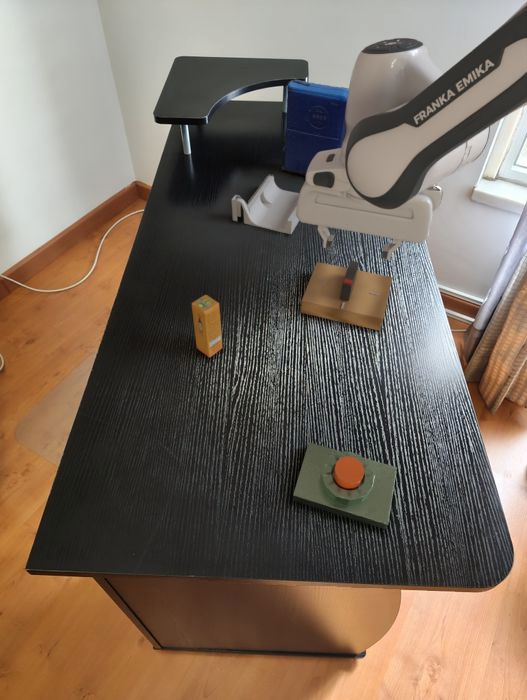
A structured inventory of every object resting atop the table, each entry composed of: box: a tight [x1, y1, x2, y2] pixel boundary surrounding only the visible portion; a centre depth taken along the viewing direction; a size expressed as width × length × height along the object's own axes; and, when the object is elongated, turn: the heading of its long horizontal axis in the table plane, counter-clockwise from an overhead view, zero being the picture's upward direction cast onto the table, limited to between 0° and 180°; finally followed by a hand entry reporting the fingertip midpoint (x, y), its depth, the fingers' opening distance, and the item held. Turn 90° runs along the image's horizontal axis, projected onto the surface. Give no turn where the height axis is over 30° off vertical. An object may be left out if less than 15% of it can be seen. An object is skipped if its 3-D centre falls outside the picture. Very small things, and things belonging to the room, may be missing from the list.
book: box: [281, 79, 349, 177], centre depth 107 cm, size 14×5×20 cm, turn 67°
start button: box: [333, 457, 364, 489], centre depth 60 cm, size 4×4×2 cm
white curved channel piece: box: [231, 175, 300, 235], centre depth 103 cm, size 15×13×5 cm
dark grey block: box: [340, 260, 360, 301], centre depth 82 cm, size 6×2×4 cm, turn 161°
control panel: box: [300, 261, 393, 331], centre depth 85 cm, size 14×11×3 cm
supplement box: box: [191, 294, 224, 358], centre depth 75 cm, size 3×3×10 cm
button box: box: [292, 442, 398, 530], centre depth 62 cm, size 12×8×4 cm, turn 72°
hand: (356, 251), depth 77 cm, fingers open, 8 cm apart
